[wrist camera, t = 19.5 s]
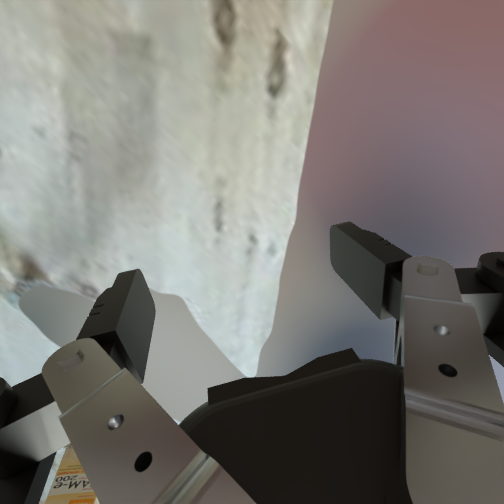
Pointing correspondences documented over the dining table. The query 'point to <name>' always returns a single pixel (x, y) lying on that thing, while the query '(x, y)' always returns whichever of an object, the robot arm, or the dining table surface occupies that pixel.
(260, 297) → the dining table surface
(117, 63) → the dining table surface
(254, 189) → the dining table surface
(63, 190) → the dining table surface
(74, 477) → the supplement box
